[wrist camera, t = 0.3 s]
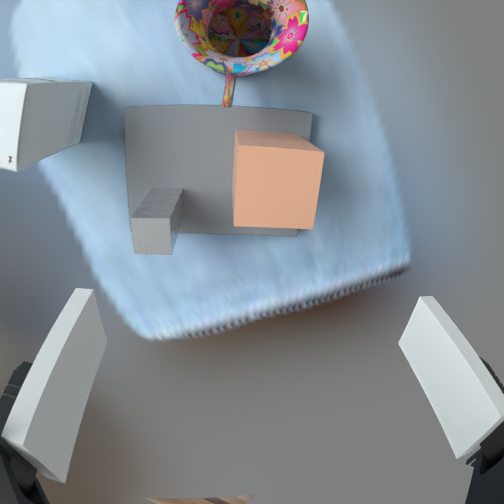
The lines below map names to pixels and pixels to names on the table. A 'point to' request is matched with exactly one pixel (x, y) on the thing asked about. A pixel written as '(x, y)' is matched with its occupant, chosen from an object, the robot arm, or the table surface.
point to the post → (157, 221)
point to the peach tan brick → (275, 180)
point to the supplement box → (39, 118)
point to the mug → (241, 35)
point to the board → (198, 158)
